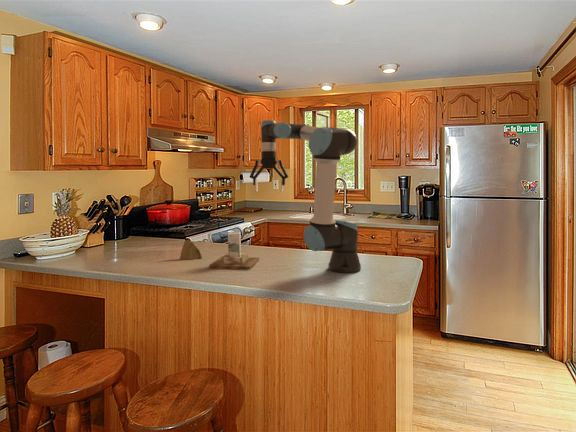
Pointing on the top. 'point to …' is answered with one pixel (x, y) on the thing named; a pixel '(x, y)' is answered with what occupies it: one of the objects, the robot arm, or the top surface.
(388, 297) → the top surface
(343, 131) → the robot arm
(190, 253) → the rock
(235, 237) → the syrup box
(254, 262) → the socket board
